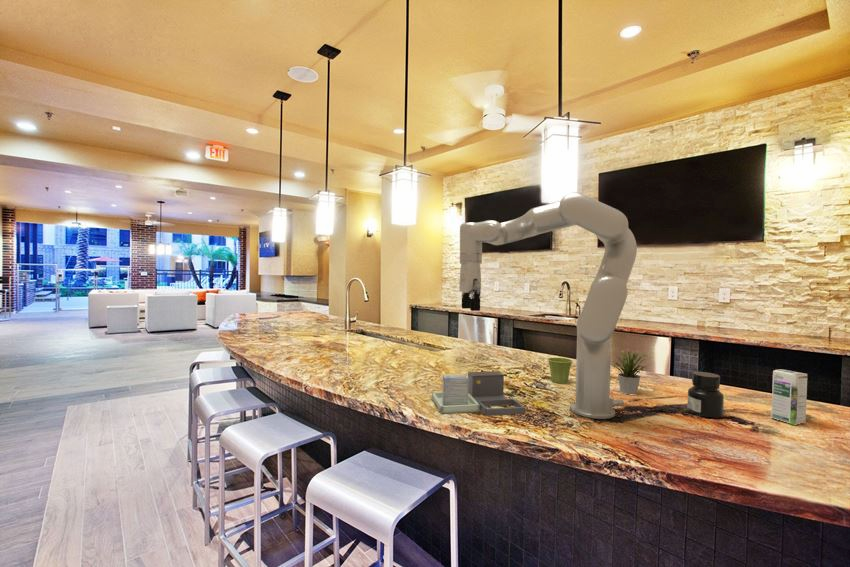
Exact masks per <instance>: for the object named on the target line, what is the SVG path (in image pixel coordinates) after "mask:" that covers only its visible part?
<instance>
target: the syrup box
mask: <svg viewBox="0 0 850 567" xmlns="http://www.w3.org/2000/svg"><path fill="white" fill-rule="evenodd" d="M771 391H772V393H771V394H772V395H771V396H772V397H771V412H770V419H771V418H774V419H777V420H776V421H778V420H781V421H784V422H787V423H786V424H788V423H790V424H789V425H791V424H794V425H793V426H796V425H795V424H799V423H803V424H805V423H806V420H807V419H806V417H807V396H808V394H807V393H808V392H807V391H808V373H803V372H797V371H792V370H789V369H788V370H787V369H781V368H780V369H775V370H773V371H772V390H771ZM774 419H773V420H774ZM781 421H780V422H781ZM784 422H783V423H784ZM804 422H805V423H804ZM799 425H800V424H799Z"/></svg>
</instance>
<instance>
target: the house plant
mask: <svg viewBox="0 0 850 567" xmlns="http://www.w3.org/2000/svg"><path fill="white" fill-rule="evenodd" d="M626 351H627V353H628V355H627V354H626V352H625V351H624V349H623V350H622V349H621V355H622V358H623V359H622V358H621V357H620V356H618V355H616V354H615V353H614V352H612V354H613V355H615V357H616V358H617V359H618V361H619V362H620V363H621V364H620V363H618V362H616V361H613V363H614V364H616V365H612V367H613V368H616V369H617V370H618V371H620V373H618V374H617V378H618V386H619V390H620V391H621V392H623V393H626V394H625V395H627V394H636V395H638V394H637V393H638V390H639V385H640V380H641V376H640V375H638V373H639V374H641V372H643V371H644V368H645V369H646V370H647V367H648V366H651V364H650V365H649V364H648V365H641V363H643V362H644V361H645V360H647V359H648V358H649V356H648V355H649V354H651V355H652V354H653V352H647V353H644V354H642V355H640V356H639V358H638V355H639V350H637V351H635V353H633V354H632V352H631V351H630V349H629V348H627V347H626ZM643 357H645V358H643ZM637 358H638V359H637ZM642 358H643V359H642ZM641 359H642V360H641ZM640 360H641V361H640ZM639 361H640V362H639ZM638 362H639V363H638ZM635 366H636V367H635ZM620 391H619V392H620ZM621 392H620V393H621ZM623 393H622V394H623Z"/></svg>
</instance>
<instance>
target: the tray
mask: <svg viewBox="0 0 850 567" xmlns="http://www.w3.org/2000/svg"><path fill="white" fill-rule="evenodd" d="M431 400H432V402H433V403H434V405H435V406H436V408H437V410H438V411H439V413H440V415H445V414H446V415H448V414H449V415H450V414H463V413H466V414H467V413H480V412H481V410H480V405H479V404H478V402H477V401H476V400H475V399H474V398H473V397H472V396H471V395H470V394H469V393H468V405H443V391H441V392H439V391H438V392H435V391H434V392H431Z"/></svg>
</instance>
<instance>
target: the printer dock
mask: <svg viewBox="0 0 850 567" xmlns="http://www.w3.org/2000/svg"><path fill="white" fill-rule="evenodd" d="M504 376H505V375H504V374H503V373H502V372H500V371H497V370H494V371H492V370H491V371H468V372H467V377H468V379H469V381H468V393H469V394H470V395H471V396H472V397H473V398H474V399H475V400H476V401H477V402H478V404H479V405H480V412H482V413H483V415H486V416H487V417H489V416H504V415H505V416H506V415H522V414H523V415H524V414H525V413H526V412H525V411H526V409H525V408H526V406H525V405H523V403H521V402H520V401H518V400H517V399H515V398H507V396H505V395H504V390H505V388H504V386H505V385H504V384H505V383H504V381H505V380H504ZM499 406H512V407H499ZM488 407H492V408H488ZM495 407H496V408H495Z"/></svg>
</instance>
